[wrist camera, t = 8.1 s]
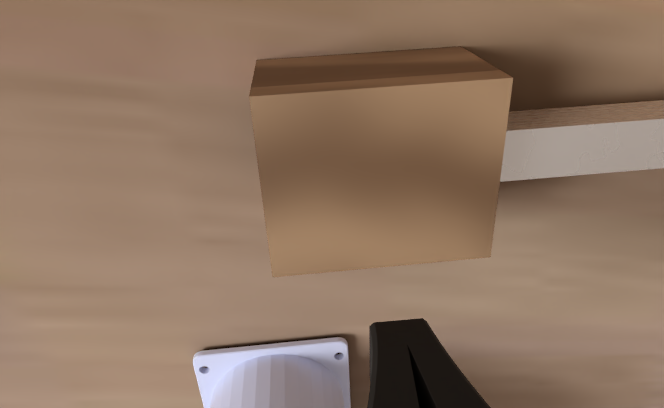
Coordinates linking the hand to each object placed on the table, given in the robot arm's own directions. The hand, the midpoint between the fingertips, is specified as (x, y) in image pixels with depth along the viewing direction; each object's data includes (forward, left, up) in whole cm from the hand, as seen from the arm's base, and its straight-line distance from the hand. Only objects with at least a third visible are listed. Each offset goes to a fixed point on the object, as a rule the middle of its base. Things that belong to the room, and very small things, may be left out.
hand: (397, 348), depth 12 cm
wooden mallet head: (+2, -1, -10) cm, 11 cm away
